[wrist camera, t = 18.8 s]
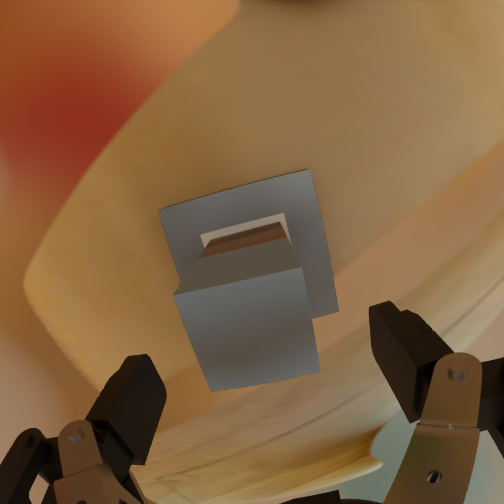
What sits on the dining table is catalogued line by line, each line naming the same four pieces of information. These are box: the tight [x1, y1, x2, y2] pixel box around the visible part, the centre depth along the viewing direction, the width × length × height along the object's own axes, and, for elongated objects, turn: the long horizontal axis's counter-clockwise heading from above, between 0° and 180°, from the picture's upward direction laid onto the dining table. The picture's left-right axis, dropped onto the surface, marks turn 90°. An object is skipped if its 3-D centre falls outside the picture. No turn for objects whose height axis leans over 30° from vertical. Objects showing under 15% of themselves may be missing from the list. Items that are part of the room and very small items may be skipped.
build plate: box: [158, 169, 339, 319], centre depth 22 cm, size 11×11×1 cm
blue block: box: [173, 238, 320, 392], centre depth 14 cm, size 5×5×5 cm
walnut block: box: [199, 221, 287, 258], centre depth 19 cm, size 5×5×5 cm
